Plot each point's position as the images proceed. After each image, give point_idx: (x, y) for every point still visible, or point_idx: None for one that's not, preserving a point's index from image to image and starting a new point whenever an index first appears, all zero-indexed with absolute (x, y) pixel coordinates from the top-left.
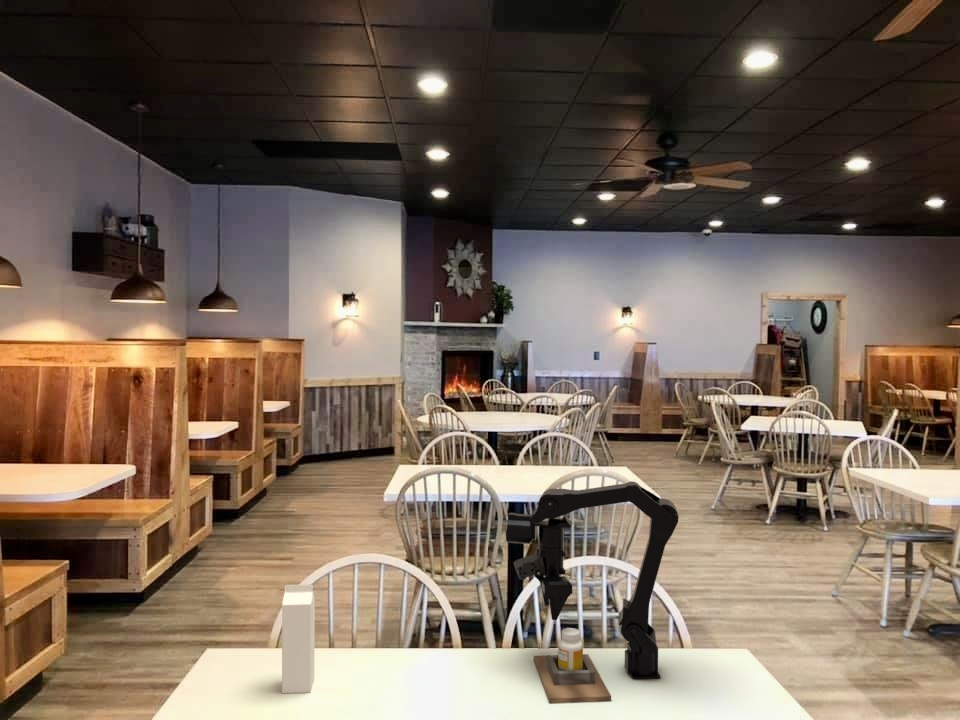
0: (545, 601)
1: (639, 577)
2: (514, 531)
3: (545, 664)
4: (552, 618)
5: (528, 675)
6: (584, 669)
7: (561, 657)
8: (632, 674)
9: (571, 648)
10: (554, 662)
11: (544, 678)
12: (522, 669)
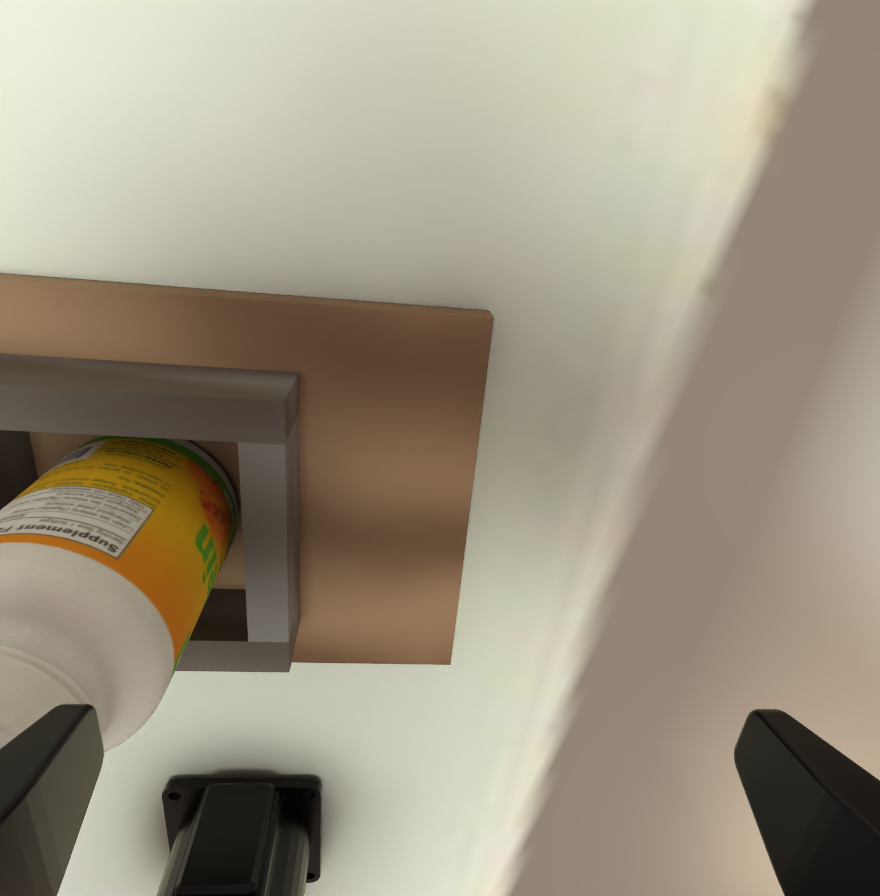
0: (786, 766)
1: None
2: None
3: (330, 374)
4: (36, 728)
5: (231, 203)
6: None
7: (2, 510)
8: (193, 794)
9: None
10: (138, 435)
11: (80, 307)
12: (342, 178)
